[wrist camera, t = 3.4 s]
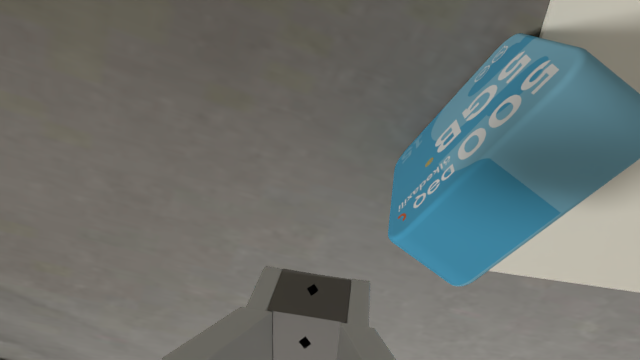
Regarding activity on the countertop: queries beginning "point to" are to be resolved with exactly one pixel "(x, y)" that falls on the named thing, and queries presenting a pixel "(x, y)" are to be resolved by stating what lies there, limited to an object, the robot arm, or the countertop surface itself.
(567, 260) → the mat
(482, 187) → the data package
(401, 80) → the countertop surface
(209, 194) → the countertop surface
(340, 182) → the countertop surface
